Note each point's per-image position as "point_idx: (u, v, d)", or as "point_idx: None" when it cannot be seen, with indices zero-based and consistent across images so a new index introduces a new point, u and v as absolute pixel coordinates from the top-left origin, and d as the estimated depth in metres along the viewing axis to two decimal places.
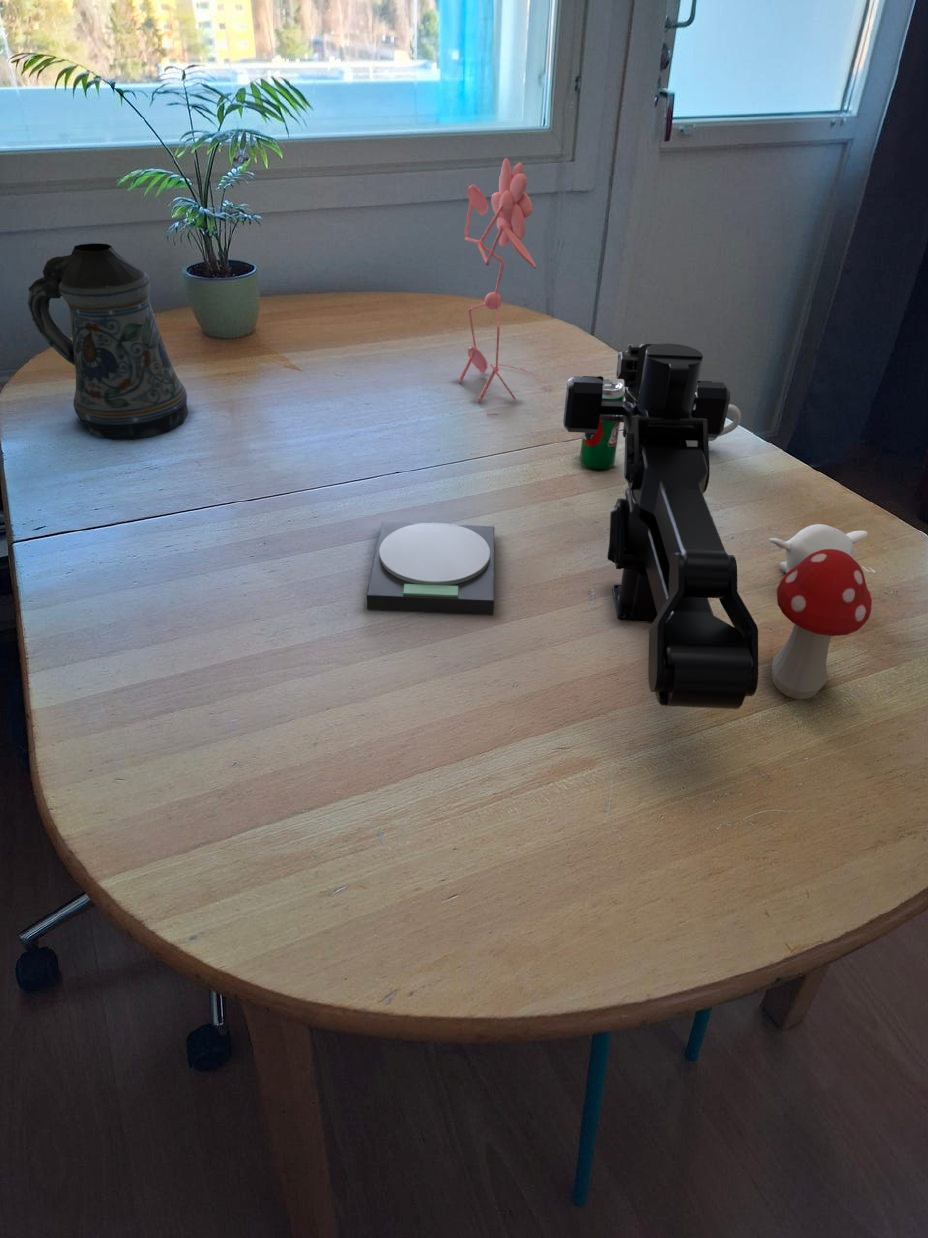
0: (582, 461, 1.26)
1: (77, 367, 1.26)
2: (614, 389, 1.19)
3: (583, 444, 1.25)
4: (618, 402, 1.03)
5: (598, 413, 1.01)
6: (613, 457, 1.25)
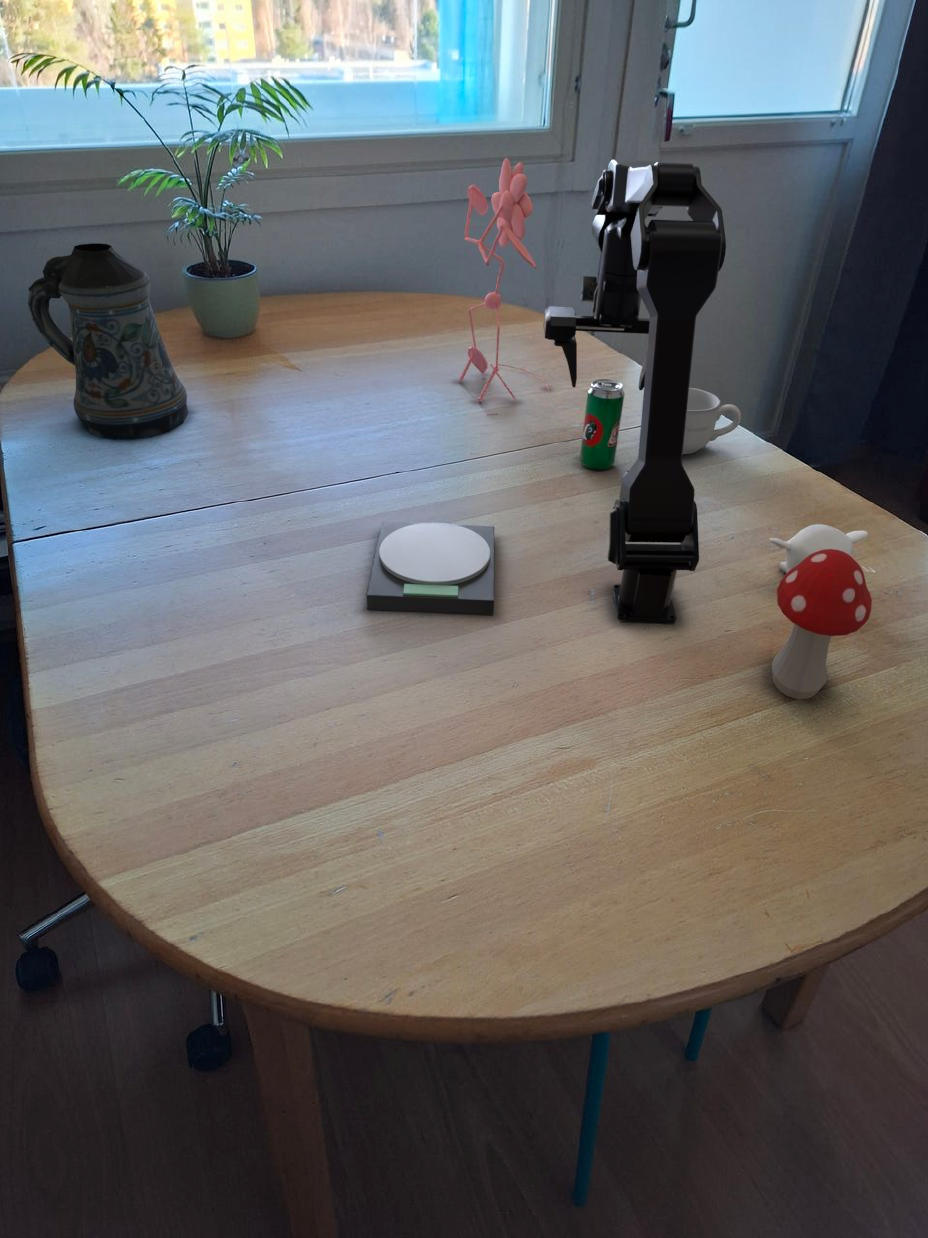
0: (582, 461, 1.26)
1: (77, 367, 1.26)
2: (614, 389, 1.19)
3: (583, 444, 1.25)
4: None
5: (574, 312, 1.14)
6: (613, 457, 1.25)
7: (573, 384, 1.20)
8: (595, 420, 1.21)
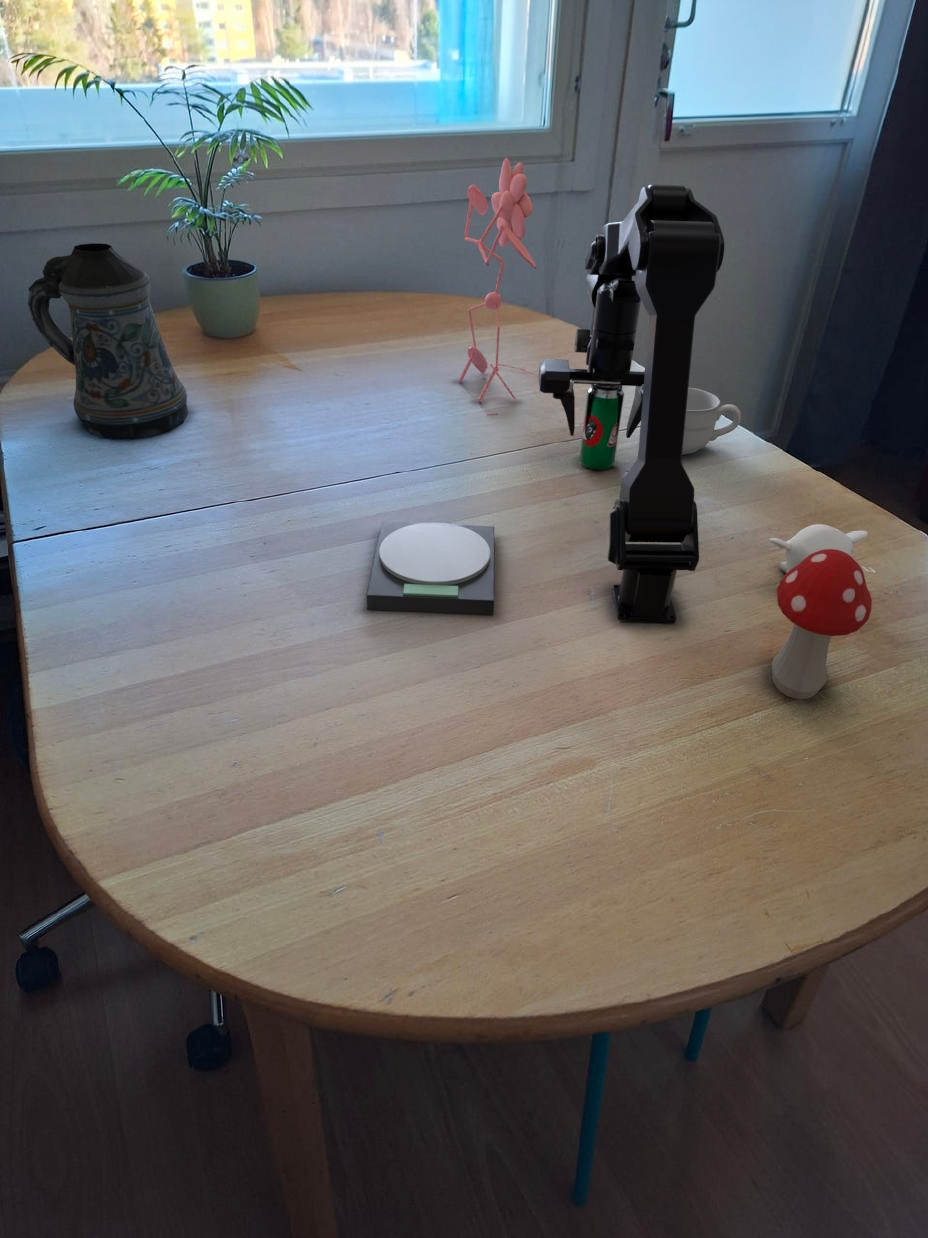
0: (582, 461, 1.26)
1: (77, 367, 1.26)
2: (614, 389, 1.19)
3: (583, 444, 1.25)
4: None
5: (568, 366, 1.19)
6: (612, 457, 1.25)
7: (571, 433, 1.24)
8: (595, 420, 1.21)
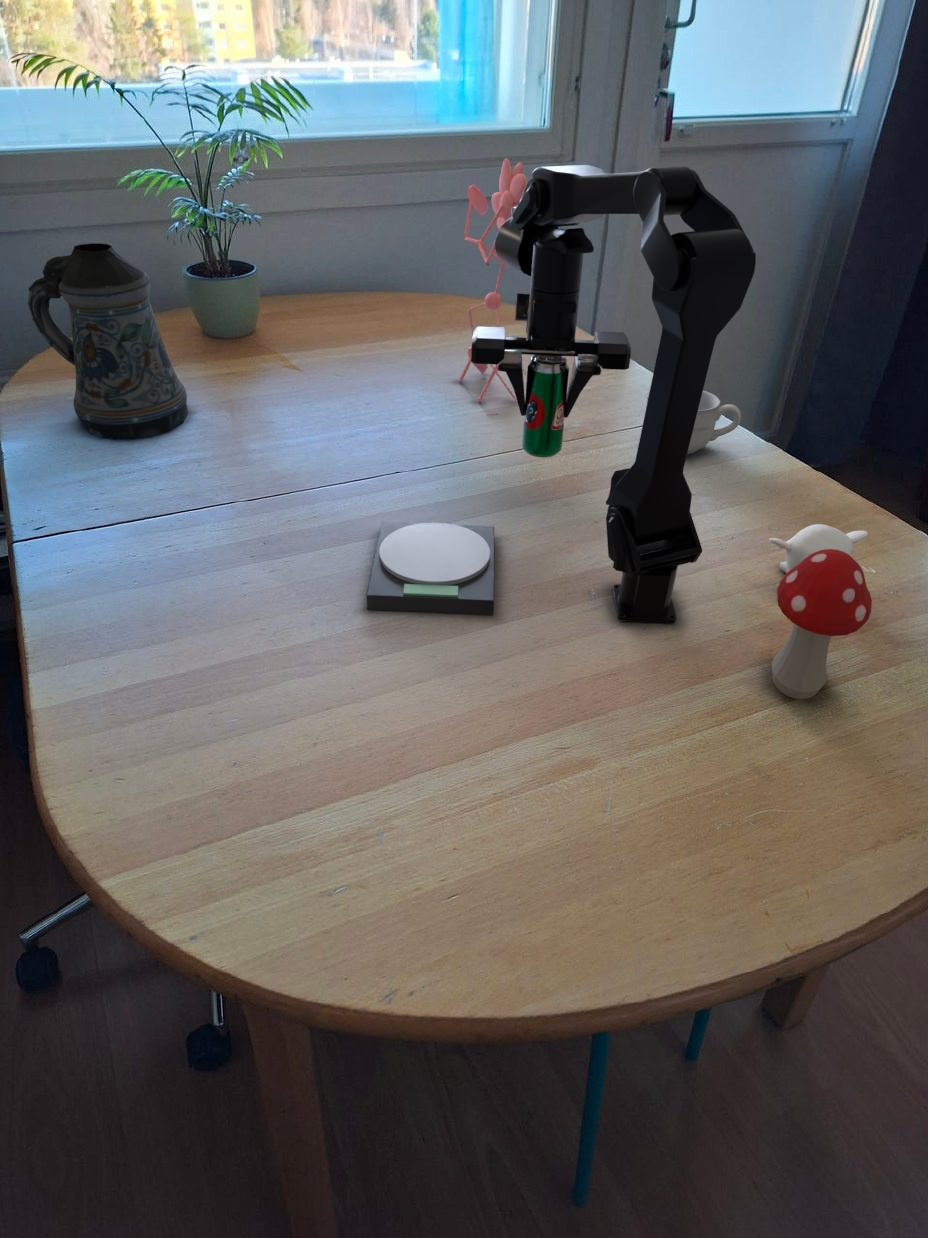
0: (524, 447, 1.11)
1: (77, 367, 1.26)
2: (556, 363, 1.04)
3: (524, 428, 1.10)
4: None
5: (503, 333, 1.04)
6: (558, 443, 1.10)
7: (521, 412, 1.09)
8: (536, 399, 1.06)
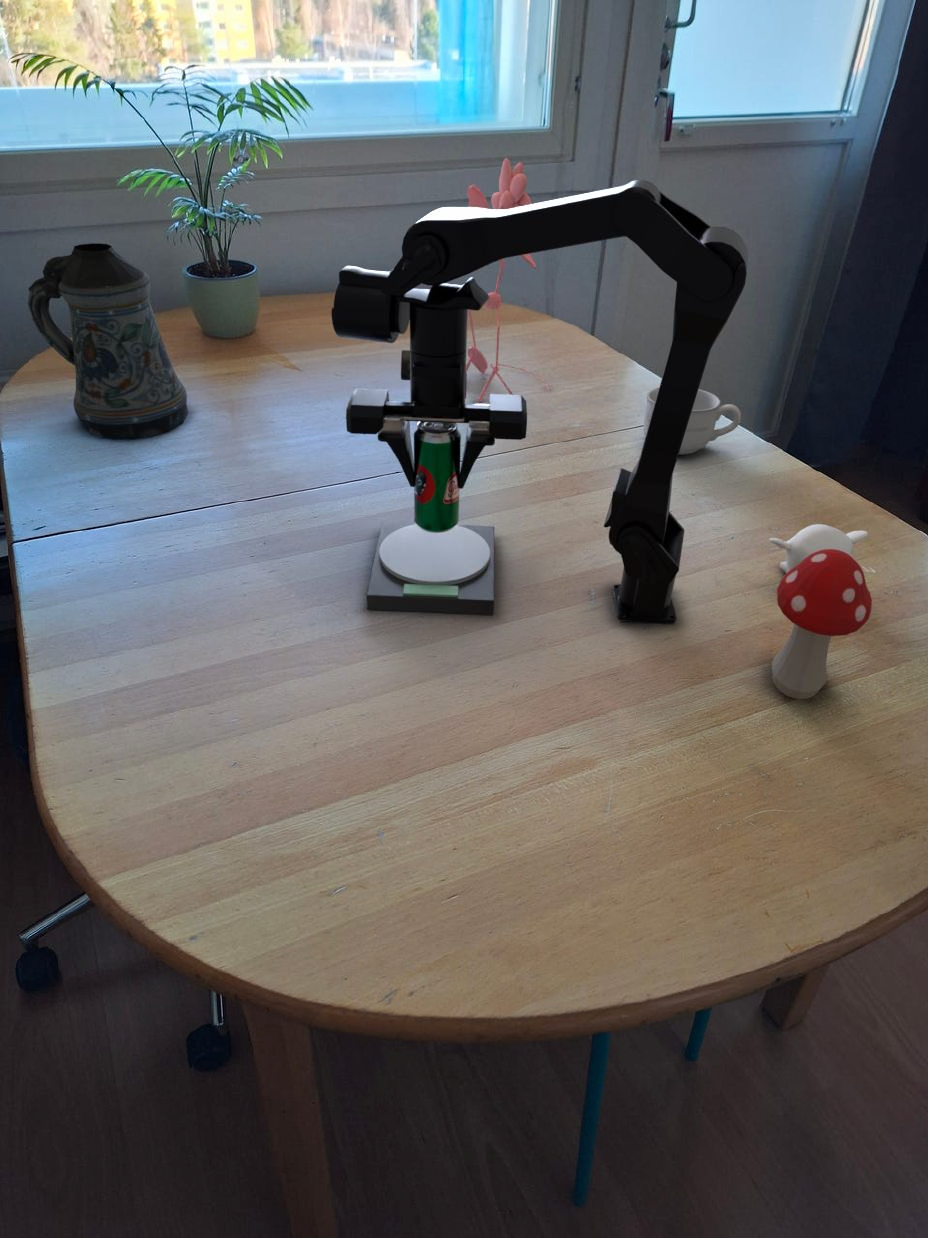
0: (416, 521, 0.98)
1: (77, 367, 1.26)
2: (444, 431, 0.92)
3: (415, 500, 0.97)
4: None
5: (383, 398, 0.91)
6: (453, 517, 0.97)
7: (410, 483, 0.96)
8: (424, 470, 0.94)
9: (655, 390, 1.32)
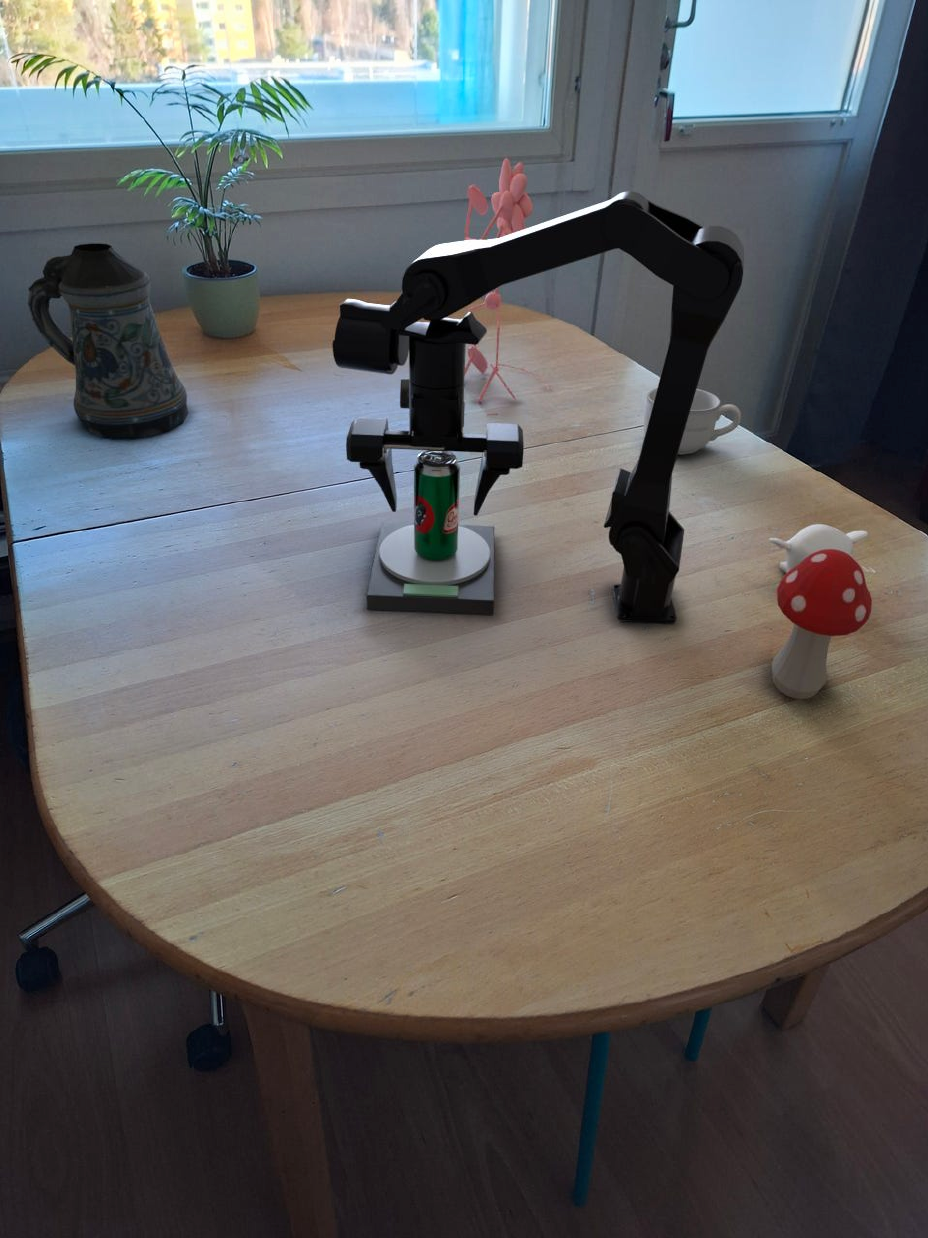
0: (416, 550, 1.01)
1: (77, 367, 1.26)
2: (444, 464, 0.94)
3: (415, 529, 0.99)
4: None
5: (383, 427, 0.93)
6: (452, 546, 1.00)
7: (392, 509, 0.98)
8: (423, 502, 0.96)
9: (655, 390, 1.32)
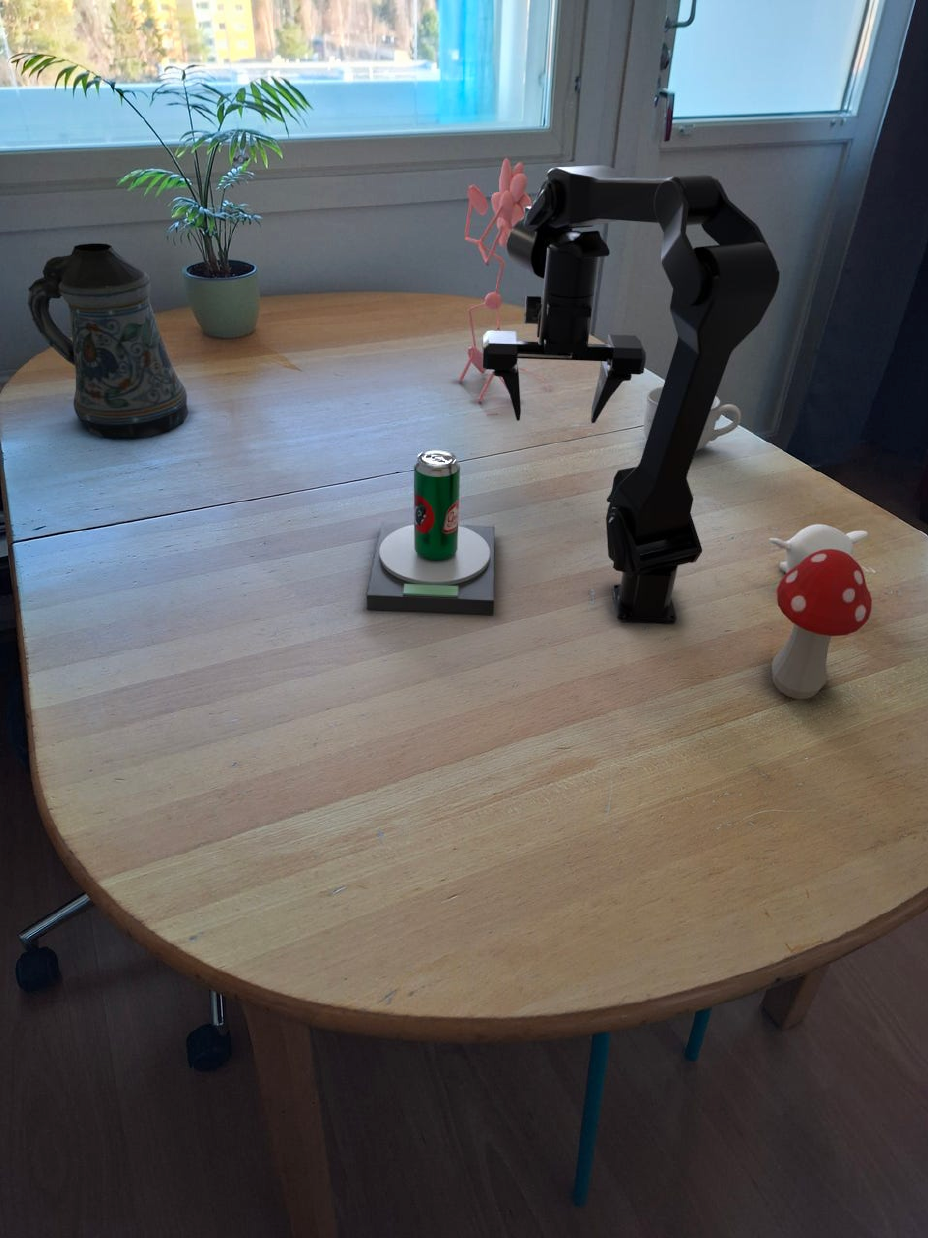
0: (416, 550, 1.01)
1: (77, 367, 1.26)
2: (444, 464, 0.94)
3: (415, 529, 0.99)
4: None
5: (515, 338, 1.01)
6: (452, 546, 1.00)
7: (517, 417, 1.06)
8: (423, 502, 0.96)
9: (655, 390, 1.32)
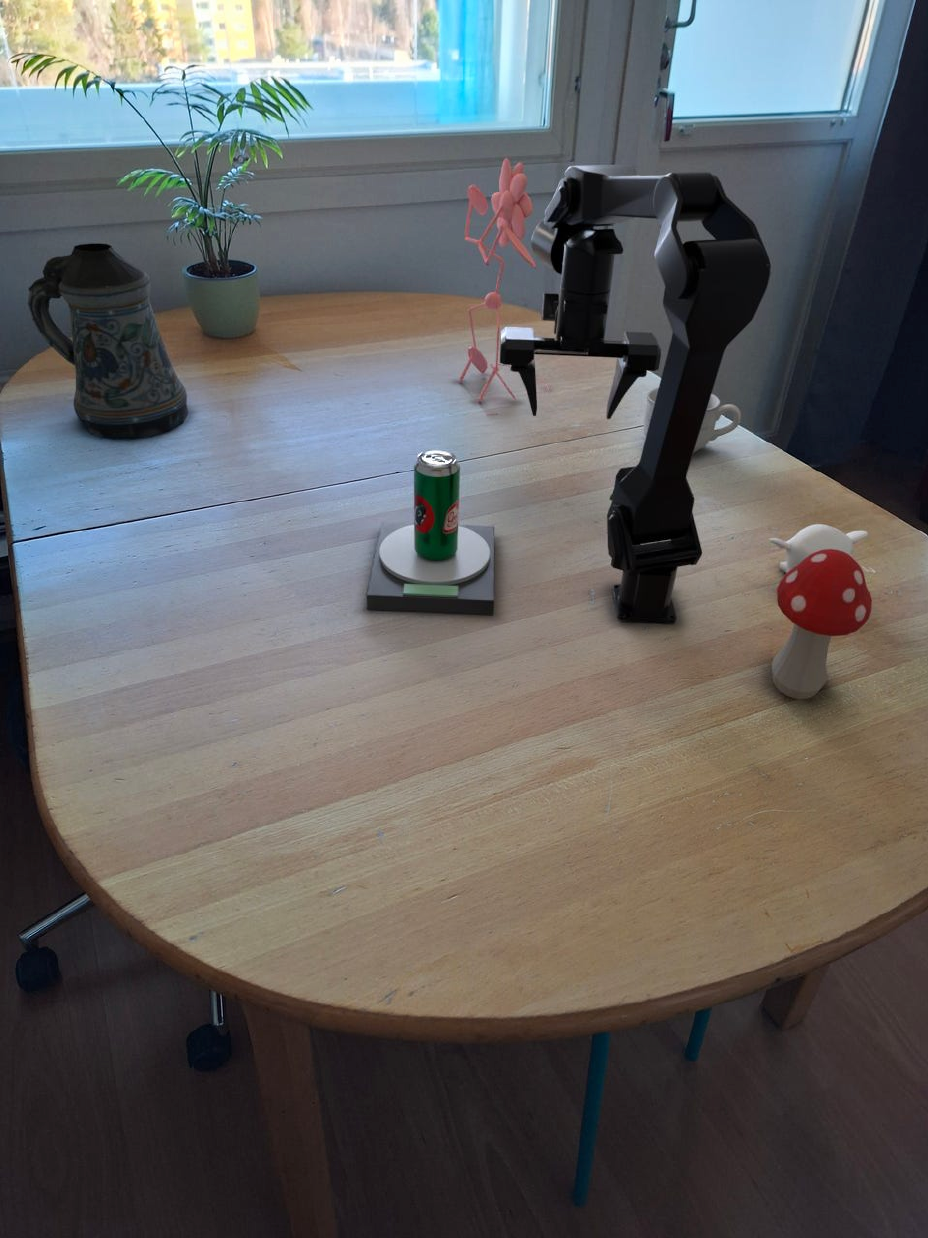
0: (416, 550, 1.01)
1: (77, 367, 1.26)
2: (444, 464, 0.94)
3: (415, 529, 0.99)
4: None
5: (532, 334, 1.03)
6: (452, 546, 1.00)
7: (533, 412, 1.08)
8: (423, 502, 0.96)
9: (655, 390, 1.32)
